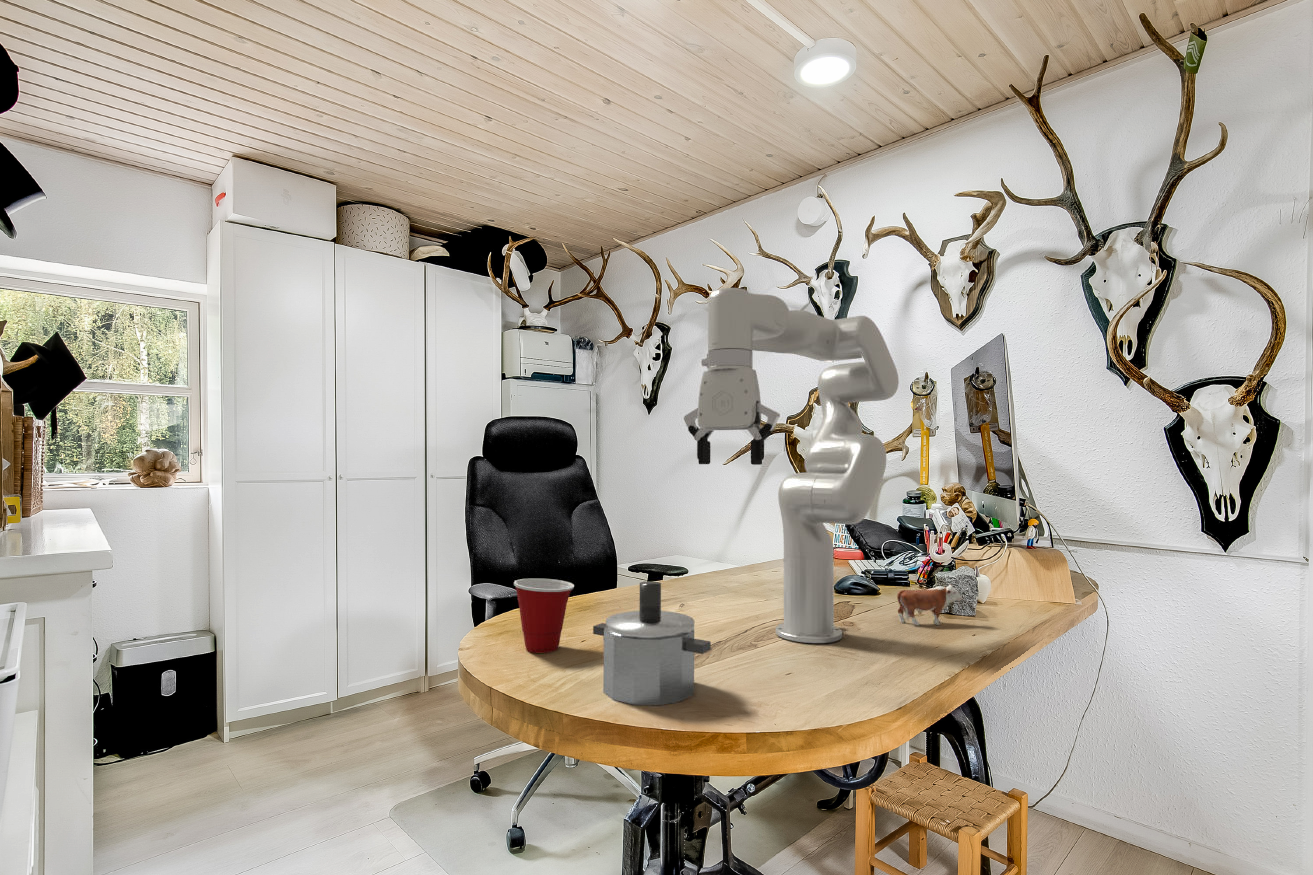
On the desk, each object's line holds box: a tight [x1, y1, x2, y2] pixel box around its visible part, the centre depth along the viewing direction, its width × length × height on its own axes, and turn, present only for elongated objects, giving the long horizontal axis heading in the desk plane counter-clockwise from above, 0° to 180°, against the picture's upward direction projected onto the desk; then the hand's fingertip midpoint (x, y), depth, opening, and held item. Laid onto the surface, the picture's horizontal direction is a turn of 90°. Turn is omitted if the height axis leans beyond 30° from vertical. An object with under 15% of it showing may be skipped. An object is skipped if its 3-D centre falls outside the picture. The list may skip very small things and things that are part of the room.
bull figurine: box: [896, 584, 963, 627], centre depth 137 cm, size 4×13×8 cm, turn 91°
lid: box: [605, 580, 695, 639], centre depth 97 cm, size 13×13×8 cm
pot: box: [592, 622, 712, 706], centre depth 97 cm, size 13×19×9 cm
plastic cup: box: [513, 578, 575, 654], centre depth 117 cm, size 11×11×12 cm
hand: (729, 464), depth 110 cm, fingers open, 9 cm apart
